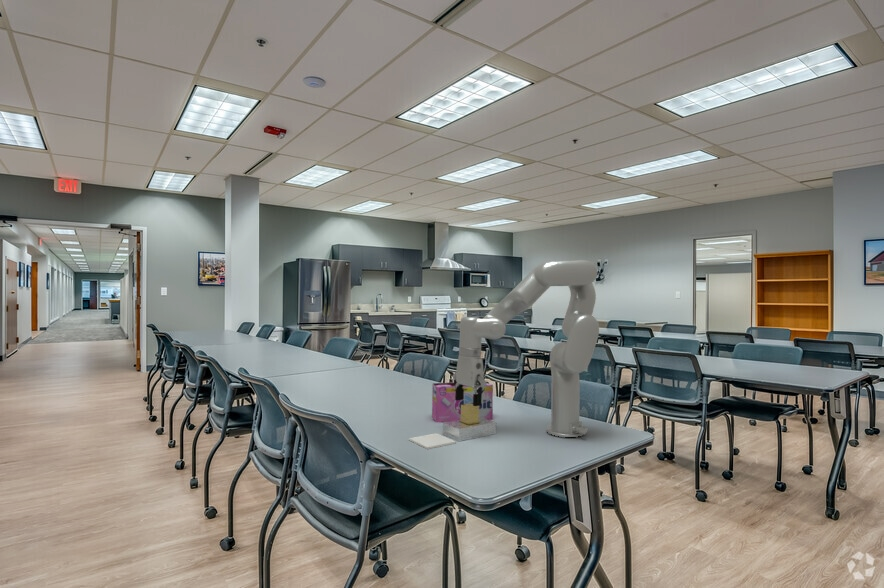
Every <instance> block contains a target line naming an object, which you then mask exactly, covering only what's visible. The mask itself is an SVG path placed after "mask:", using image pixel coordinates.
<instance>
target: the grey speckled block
mask: <svg viewBox="0 0 884 588" xmlns="http://www.w3.org/2000/svg"><path fill="white" fill-rule="evenodd" d="M442 423H443V424H442V436H444V437H447V438H449V439H451V440H454V441H456V442H463V441H467V440H468V441H469V440H472V439H477V438H483V437H486V436H487V437H488V436H492V435H496V433H497V421H493V420H488V419H485V418H482V417H479V424H474V425H466V424H463V423H461V420H457V421H451V422H442Z"/></svg>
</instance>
